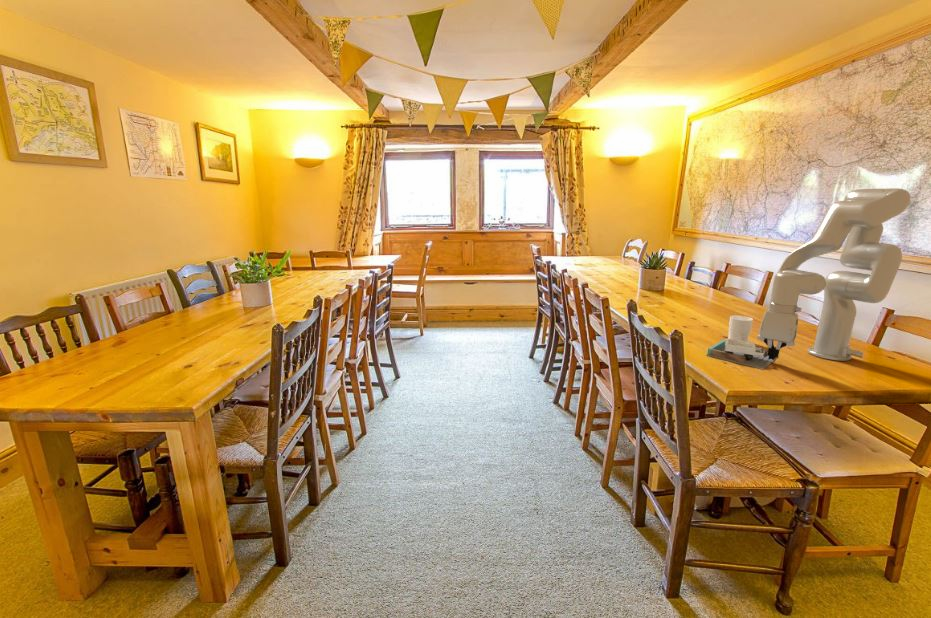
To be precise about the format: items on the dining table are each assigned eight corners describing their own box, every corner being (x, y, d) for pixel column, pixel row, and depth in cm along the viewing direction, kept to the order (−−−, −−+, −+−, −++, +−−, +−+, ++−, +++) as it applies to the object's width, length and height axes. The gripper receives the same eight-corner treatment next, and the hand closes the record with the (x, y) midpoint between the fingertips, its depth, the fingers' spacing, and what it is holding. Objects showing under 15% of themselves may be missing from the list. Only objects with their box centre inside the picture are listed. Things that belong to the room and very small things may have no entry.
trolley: (763, 357, 156) (766, 344, 154) (766, 364, 149) (768, 350, 148) (723, 351, 162) (725, 338, 160) (723, 357, 155) (726, 344, 154)
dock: (778, 356, 158) (779, 350, 157) (763, 369, 146) (764, 362, 145) (724, 344, 171) (725, 338, 170) (706, 355, 158) (707, 348, 158)
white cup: (752, 345, 170) (756, 321, 168) (730, 343, 172) (734, 319, 169) (743, 339, 178) (748, 316, 175) (723, 337, 179) (727, 314, 177)
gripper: (811, 310, 144) (800, 361, 148) (759, 302, 154) (751, 350, 159) (806, 314, 139) (795, 367, 143) (753, 306, 149) (744, 355, 154)
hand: (772, 358), depth 151 cm, fingers closed
